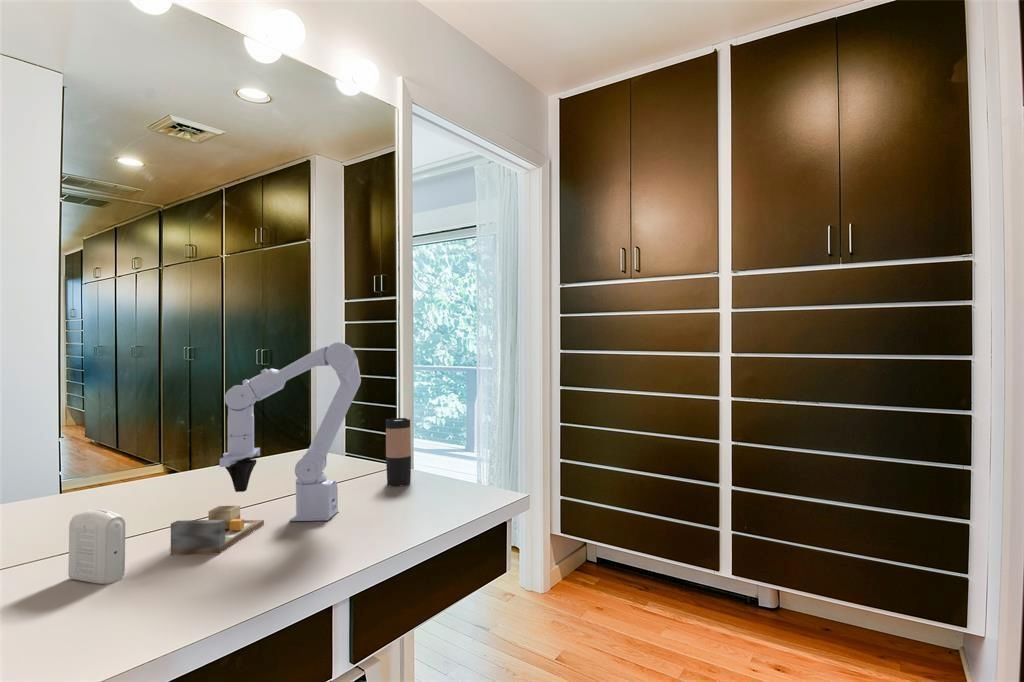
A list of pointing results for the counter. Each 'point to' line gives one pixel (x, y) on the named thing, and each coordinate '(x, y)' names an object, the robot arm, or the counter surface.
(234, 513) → the tan rectangular block
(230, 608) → the counter surface
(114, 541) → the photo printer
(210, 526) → the base
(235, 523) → the block
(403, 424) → the travel mug
